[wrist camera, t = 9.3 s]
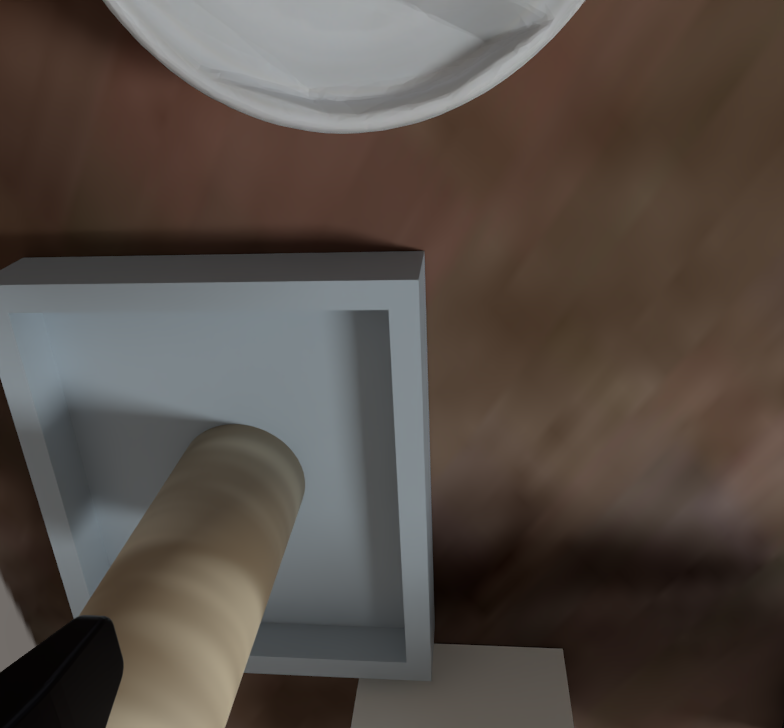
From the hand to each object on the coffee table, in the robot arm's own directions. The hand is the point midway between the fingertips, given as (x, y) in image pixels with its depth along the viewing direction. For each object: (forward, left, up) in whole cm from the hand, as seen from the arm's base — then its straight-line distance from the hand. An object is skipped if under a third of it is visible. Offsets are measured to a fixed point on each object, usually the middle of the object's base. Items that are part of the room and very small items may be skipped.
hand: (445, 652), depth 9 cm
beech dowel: (+7, +6, -12) cm, 15 cm away
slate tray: (+7, +6, -13) cm, 16 cm away
